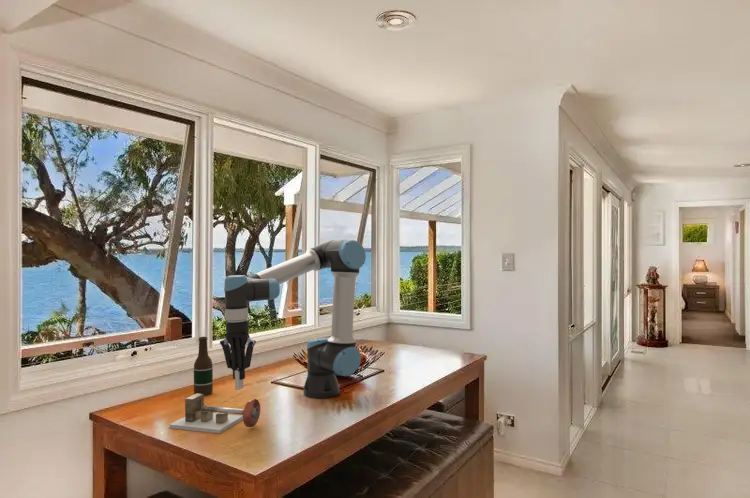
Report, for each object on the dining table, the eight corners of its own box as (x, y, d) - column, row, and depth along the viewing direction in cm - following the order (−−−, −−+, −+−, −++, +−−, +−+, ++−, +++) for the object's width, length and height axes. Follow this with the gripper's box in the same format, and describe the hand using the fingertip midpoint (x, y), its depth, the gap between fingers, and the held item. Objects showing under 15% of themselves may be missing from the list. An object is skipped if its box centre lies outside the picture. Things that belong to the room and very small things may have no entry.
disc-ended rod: (263, 422, 170) (262, 395, 170) (249, 431, 161) (248, 404, 161) (212, 417, 175) (212, 391, 175) (196, 426, 167) (196, 399, 167)
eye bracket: (230, 418, 172) (229, 396, 172) (219, 425, 166) (219, 401, 166) (196, 415, 176) (196, 393, 176) (185, 421, 170) (185, 398, 170)
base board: (242, 419, 175) (242, 415, 175) (220, 433, 161) (220, 429, 161) (195, 414, 180) (195, 411, 180) (169, 427, 167) (169, 424, 167)
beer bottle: (206, 396, 202) (206, 339, 202) (189, 395, 204) (189, 338, 204) (216, 391, 210) (216, 335, 210) (200, 390, 211) (199, 335, 212)
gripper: (259, 319, 169) (261, 386, 170) (226, 318, 173) (228, 384, 173) (248, 322, 162) (250, 393, 162) (214, 321, 166) (216, 390, 166)
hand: (239, 388), depth 168 cm, fingers closed
